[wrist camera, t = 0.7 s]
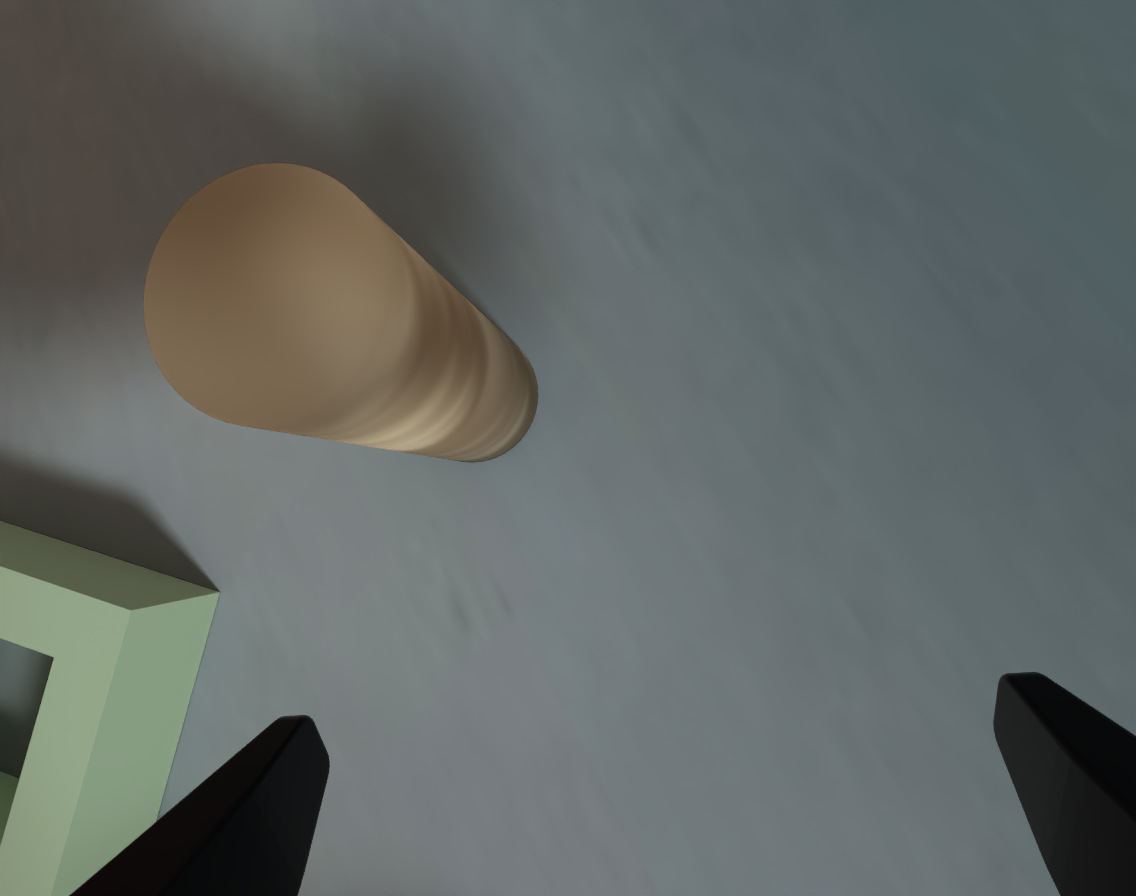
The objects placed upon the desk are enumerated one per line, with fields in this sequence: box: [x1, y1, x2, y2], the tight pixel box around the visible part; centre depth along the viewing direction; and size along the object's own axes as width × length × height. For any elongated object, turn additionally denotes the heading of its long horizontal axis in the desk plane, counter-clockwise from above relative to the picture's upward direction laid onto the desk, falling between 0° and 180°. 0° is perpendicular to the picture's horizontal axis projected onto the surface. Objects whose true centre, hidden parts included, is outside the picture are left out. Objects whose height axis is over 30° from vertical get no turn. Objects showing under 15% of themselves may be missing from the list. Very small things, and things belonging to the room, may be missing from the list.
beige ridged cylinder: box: [143, 163, 538, 462], centre depth 18 cm, size 4×4×12 cm
